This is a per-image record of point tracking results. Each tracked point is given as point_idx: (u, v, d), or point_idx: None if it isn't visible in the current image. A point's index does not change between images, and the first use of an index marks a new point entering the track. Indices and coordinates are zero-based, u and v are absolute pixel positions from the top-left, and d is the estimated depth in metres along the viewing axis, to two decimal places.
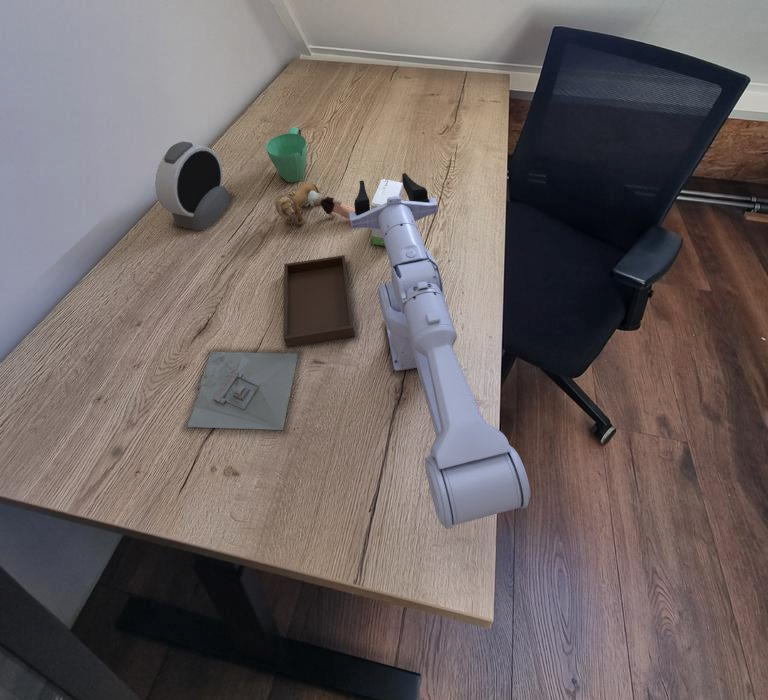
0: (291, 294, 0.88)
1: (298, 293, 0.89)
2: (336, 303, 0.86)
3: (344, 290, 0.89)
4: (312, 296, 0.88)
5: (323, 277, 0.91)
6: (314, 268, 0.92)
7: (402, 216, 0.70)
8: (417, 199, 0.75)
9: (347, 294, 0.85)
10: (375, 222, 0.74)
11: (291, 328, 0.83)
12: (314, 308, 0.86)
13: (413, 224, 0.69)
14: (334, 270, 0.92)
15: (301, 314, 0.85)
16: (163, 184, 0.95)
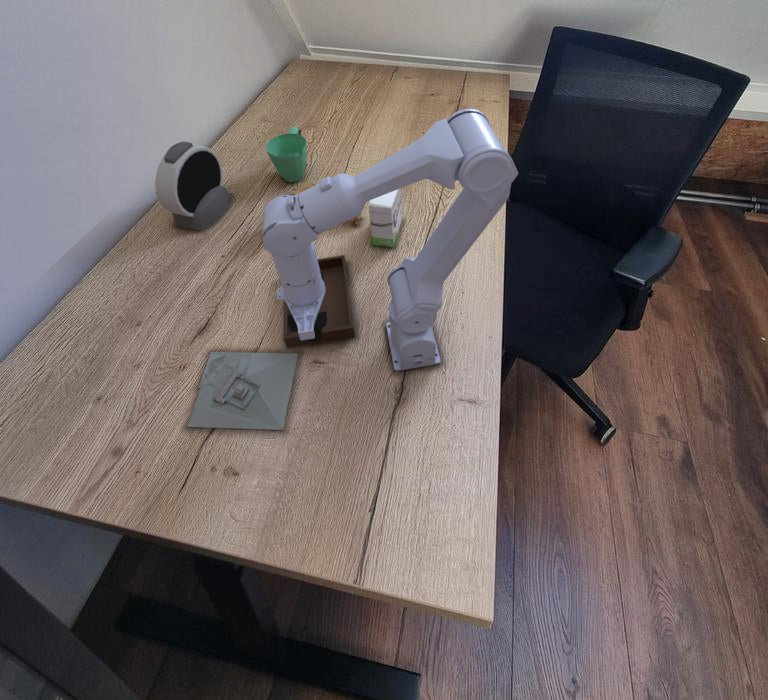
0: None
1: None
2: (336, 303, 0.86)
3: (344, 290, 0.89)
4: None
5: None
6: None
7: None
8: None
9: (347, 294, 0.85)
10: (311, 308, 0.65)
11: None
12: None
13: None
14: (334, 270, 0.92)
15: None
16: (163, 184, 0.95)
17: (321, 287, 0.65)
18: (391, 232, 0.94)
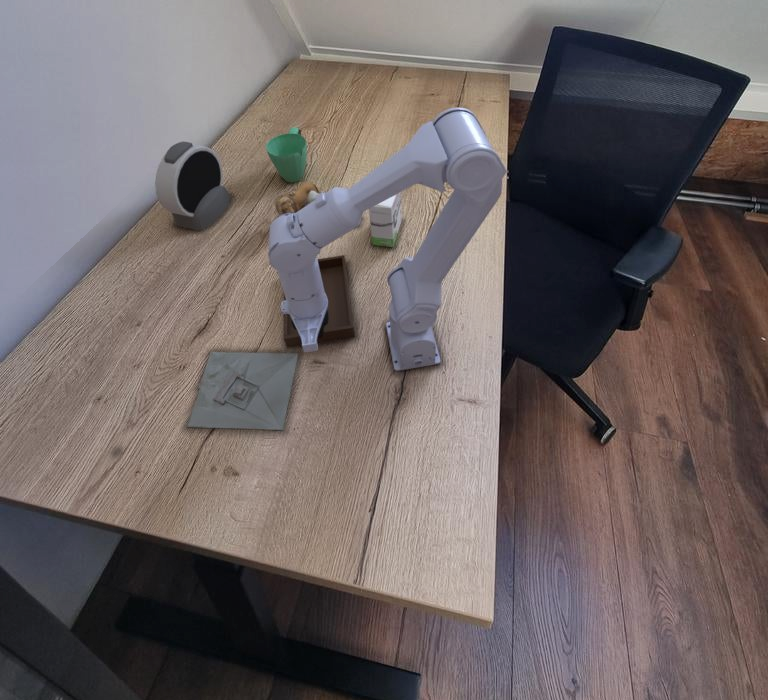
0: None
1: None
2: (336, 303, 0.86)
3: (344, 290, 0.89)
4: None
5: (323, 277, 0.91)
6: None
7: None
8: None
9: (347, 294, 0.85)
10: (315, 321, 0.67)
11: (291, 328, 0.83)
12: None
13: None
14: (334, 270, 0.92)
15: None
16: (163, 184, 0.95)
17: (324, 300, 0.68)
18: (391, 232, 0.94)
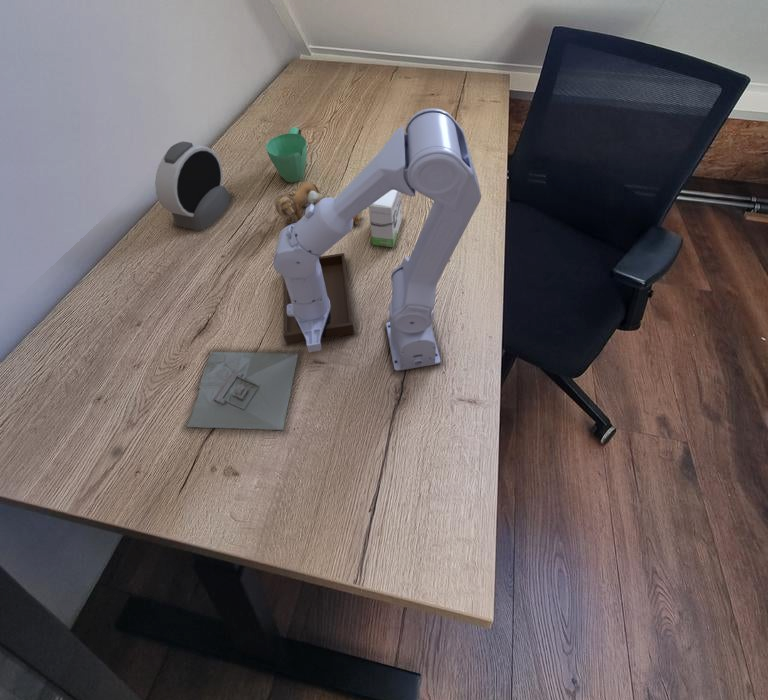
0: None
1: None
2: (336, 301, 0.87)
3: (344, 288, 0.89)
4: None
5: (323, 275, 0.92)
6: None
7: None
8: None
9: (347, 291, 0.85)
10: (318, 322, 0.72)
11: (291, 325, 0.83)
12: None
13: None
14: (334, 268, 0.93)
15: None
16: (163, 184, 0.95)
17: (327, 304, 0.73)
18: (391, 232, 0.94)
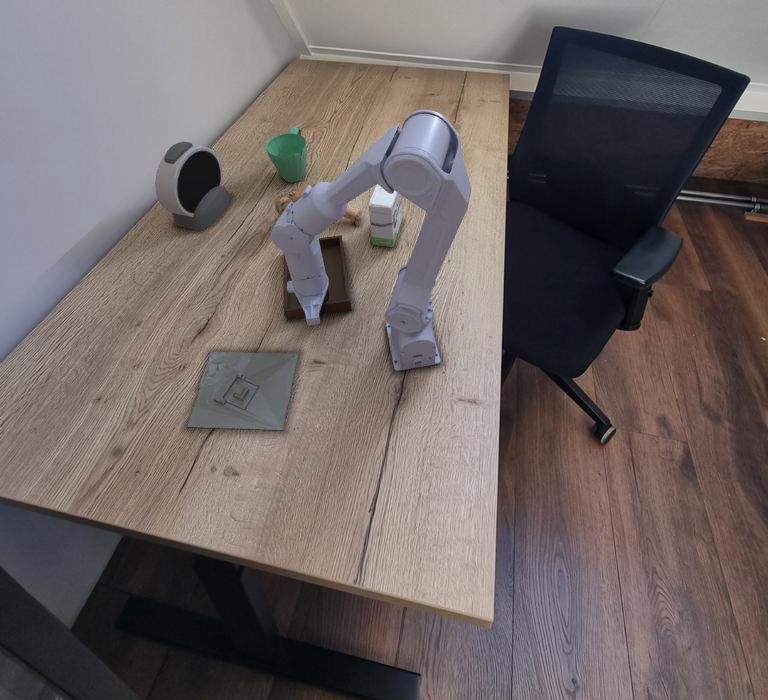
0: None
1: None
2: (334, 279, 0.91)
3: (341, 268, 0.93)
4: None
5: None
6: None
7: None
8: None
9: (344, 270, 0.89)
10: (317, 298, 0.75)
11: (291, 302, 0.87)
12: None
13: None
14: (332, 249, 0.97)
15: None
16: (163, 184, 0.95)
17: (325, 280, 0.76)
18: (391, 232, 0.94)
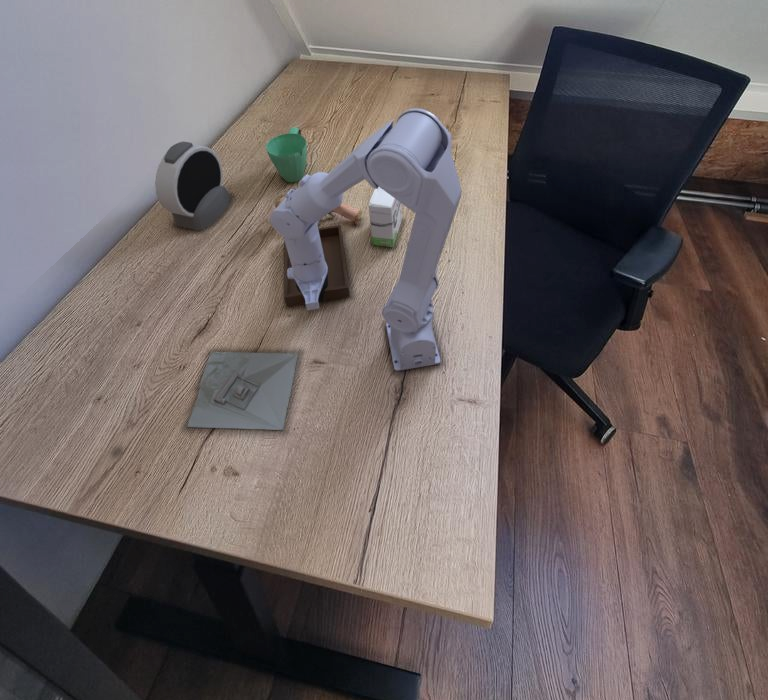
0: None
1: None
2: (333, 268, 0.93)
3: (340, 256, 0.95)
4: None
5: None
6: None
7: None
8: None
9: (343, 258, 0.91)
10: (316, 284, 0.78)
11: (291, 289, 0.89)
12: None
13: None
14: (331, 239, 0.99)
15: None
16: (163, 184, 0.95)
17: (324, 267, 0.78)
18: (391, 232, 0.94)
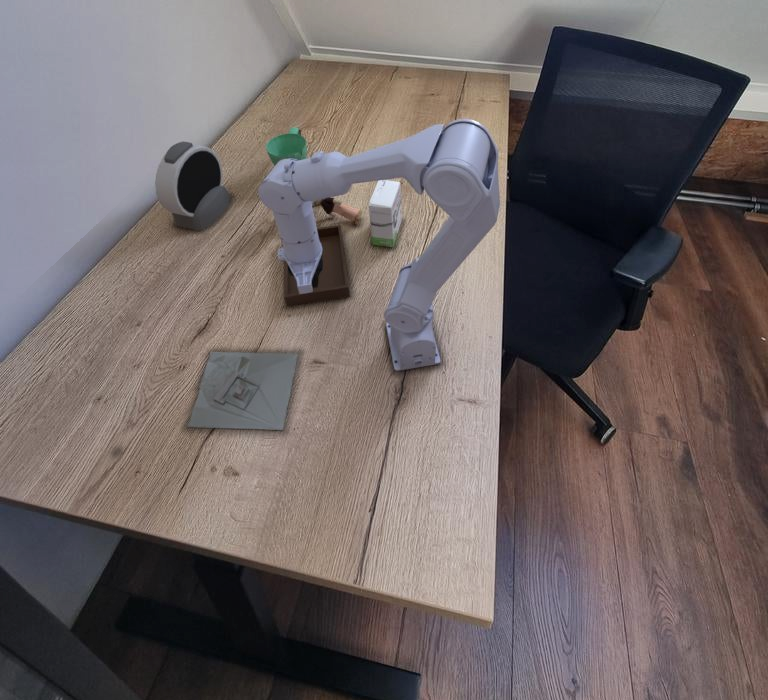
0: None
1: None
2: (333, 267, 0.93)
3: (340, 256, 0.95)
4: None
5: None
6: None
7: None
8: None
9: (343, 258, 0.91)
10: (309, 265, 0.71)
11: (291, 289, 0.89)
12: None
13: None
14: (331, 239, 0.99)
15: None
16: (163, 184, 0.95)
17: (318, 247, 0.71)
18: (391, 232, 0.94)
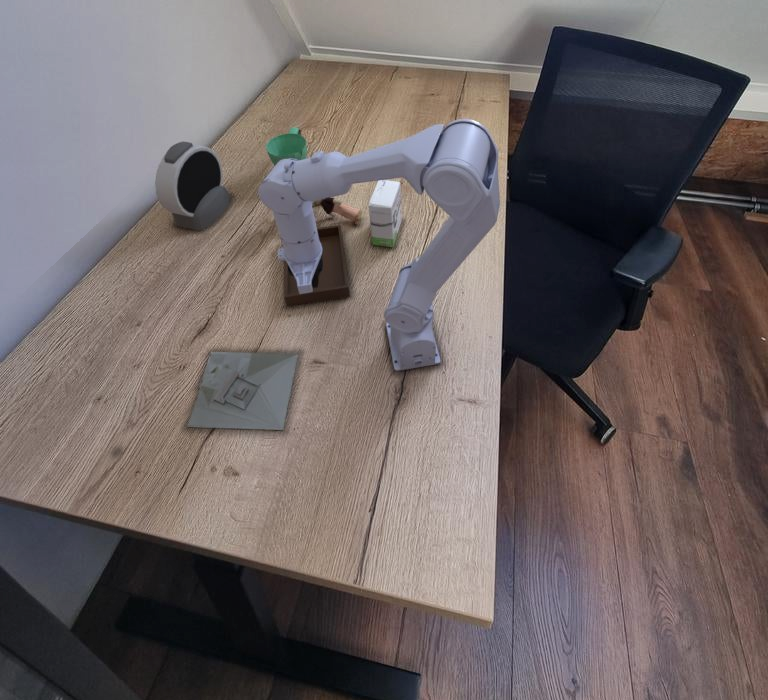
0: None
1: None
2: (333, 267, 0.93)
3: (340, 256, 0.95)
4: None
5: None
6: None
7: None
8: None
9: (343, 258, 0.91)
10: (309, 265, 0.71)
11: (291, 289, 0.89)
12: None
13: None
14: (331, 239, 0.99)
15: None
16: (163, 184, 0.95)
17: (318, 247, 0.71)
18: (391, 232, 0.94)
